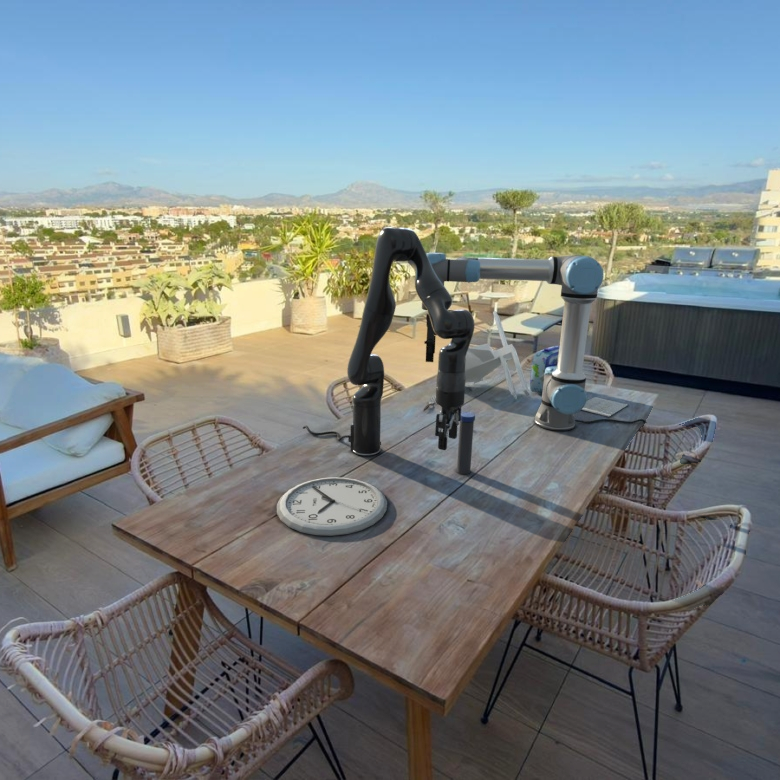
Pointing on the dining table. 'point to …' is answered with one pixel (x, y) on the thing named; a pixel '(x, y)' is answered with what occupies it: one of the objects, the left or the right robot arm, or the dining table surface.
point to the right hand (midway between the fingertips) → (430, 357)
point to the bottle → (465, 447)
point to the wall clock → (331, 506)
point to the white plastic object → (493, 361)
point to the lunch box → (542, 367)
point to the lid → (467, 417)
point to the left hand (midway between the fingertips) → (447, 443)
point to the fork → (430, 403)
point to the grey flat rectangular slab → (603, 406)
